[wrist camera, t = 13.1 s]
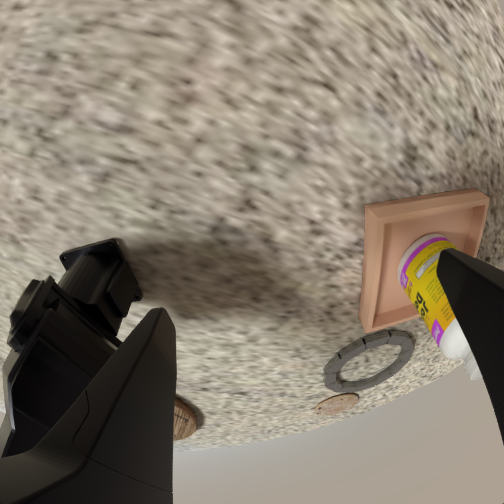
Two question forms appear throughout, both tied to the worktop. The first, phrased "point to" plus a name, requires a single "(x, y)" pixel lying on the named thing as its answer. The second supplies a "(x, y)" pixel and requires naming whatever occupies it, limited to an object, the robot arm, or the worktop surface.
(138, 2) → the worktop surface
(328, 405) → the flatbread
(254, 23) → the worktop surface
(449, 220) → the tray
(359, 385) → the seat ring
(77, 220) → the worktop surface
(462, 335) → the supplement bottle
